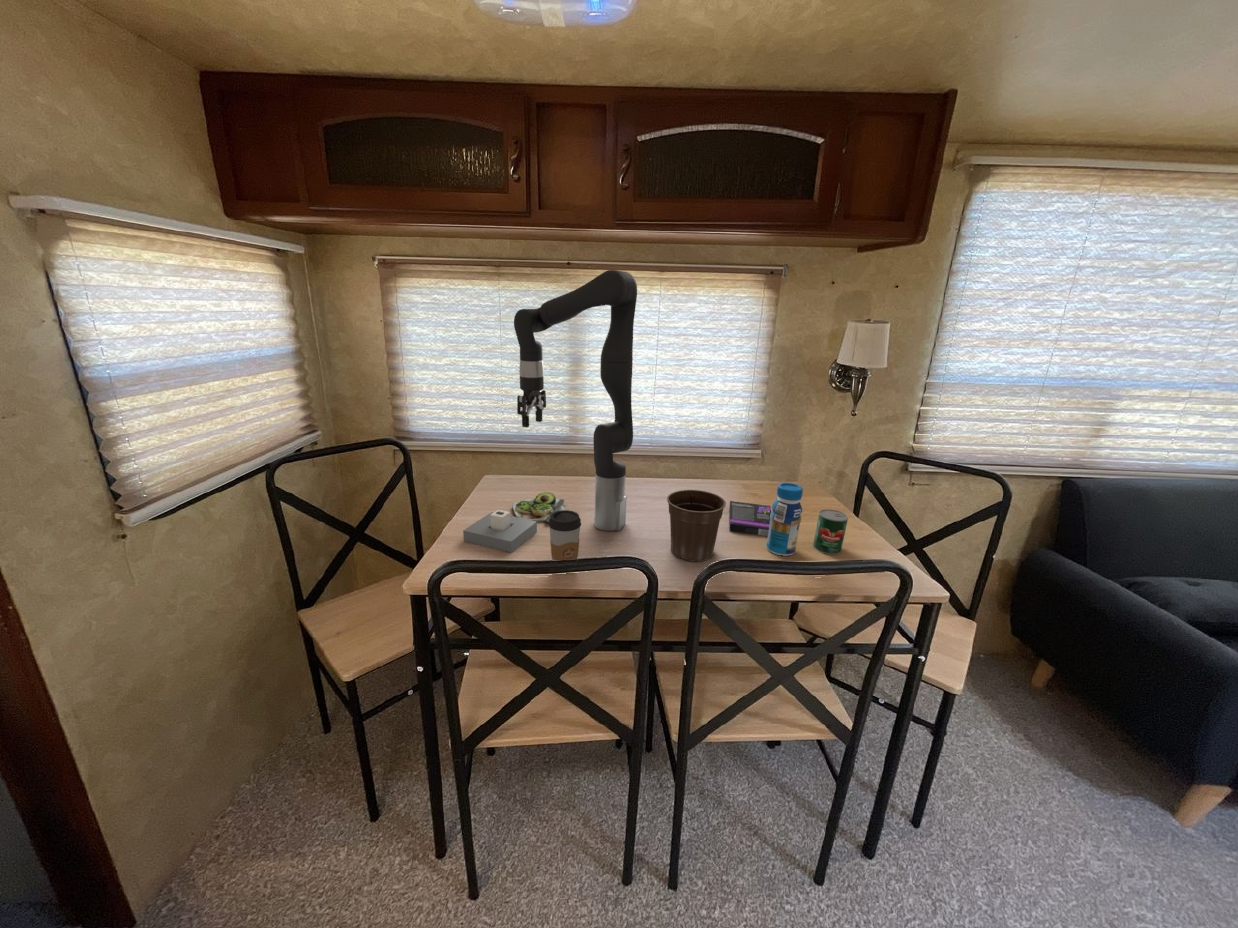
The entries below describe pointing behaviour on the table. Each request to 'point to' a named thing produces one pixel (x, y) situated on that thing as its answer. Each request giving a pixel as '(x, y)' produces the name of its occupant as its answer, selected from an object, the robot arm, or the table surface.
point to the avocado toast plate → (539, 507)
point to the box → (749, 518)
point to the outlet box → (500, 533)
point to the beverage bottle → (785, 520)
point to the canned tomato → (830, 531)
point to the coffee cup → (564, 535)
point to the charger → (500, 520)
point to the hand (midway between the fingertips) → (532, 424)
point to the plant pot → (694, 523)
